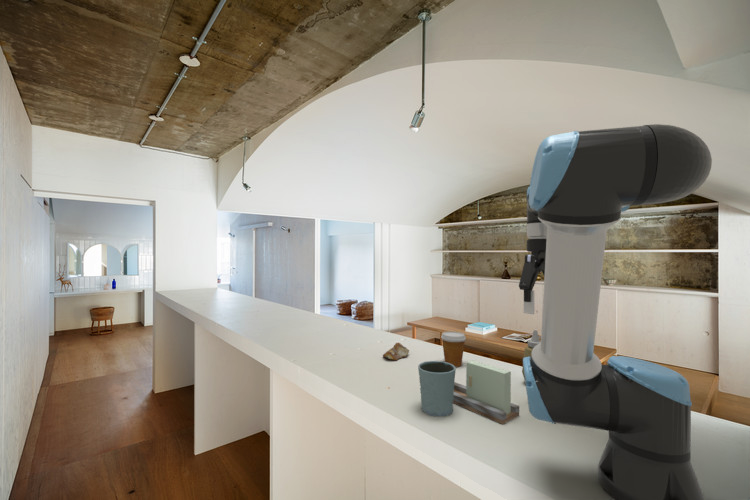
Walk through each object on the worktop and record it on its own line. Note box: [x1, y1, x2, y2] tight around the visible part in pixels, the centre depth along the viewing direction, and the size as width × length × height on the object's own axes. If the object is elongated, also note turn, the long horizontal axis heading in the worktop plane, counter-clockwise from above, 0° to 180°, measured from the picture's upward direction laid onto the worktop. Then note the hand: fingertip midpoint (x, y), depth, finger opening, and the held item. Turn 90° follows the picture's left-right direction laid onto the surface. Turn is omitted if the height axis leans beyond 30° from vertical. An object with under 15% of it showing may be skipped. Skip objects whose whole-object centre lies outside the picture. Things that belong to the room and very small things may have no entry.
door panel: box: [465, 360, 512, 415], centre depth 95 cm, size 12×3×11 cm, turn 39°
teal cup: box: [418, 360, 457, 417], centre depth 95 cm, size 10×10×12 cm
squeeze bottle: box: [521, 329, 541, 380], centre depth 114 cm, size 8×8×18 cm
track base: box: [453, 381, 520, 425], centre depth 99 cm, size 24×8×2 cm, turn 39°
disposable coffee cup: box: [440, 331, 467, 368], centre depth 134 cm, size 10×10×12 cm
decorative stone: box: [382, 342, 410, 361], centre depth 144 cm, size 10×4×15 cm
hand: (540, 311), depth 100 cm, fingers open, 13 cm apart
